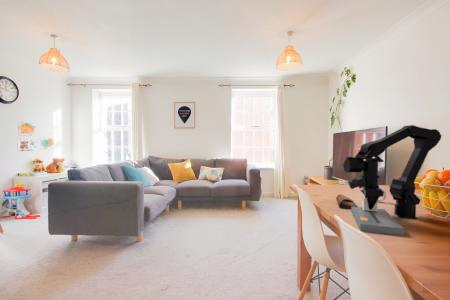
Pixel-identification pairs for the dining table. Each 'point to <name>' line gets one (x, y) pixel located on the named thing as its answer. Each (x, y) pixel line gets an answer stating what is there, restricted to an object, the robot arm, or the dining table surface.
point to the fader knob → (365, 205)
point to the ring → (384, 196)
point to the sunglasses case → (345, 202)
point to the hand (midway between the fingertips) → (369, 208)
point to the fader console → (376, 221)
